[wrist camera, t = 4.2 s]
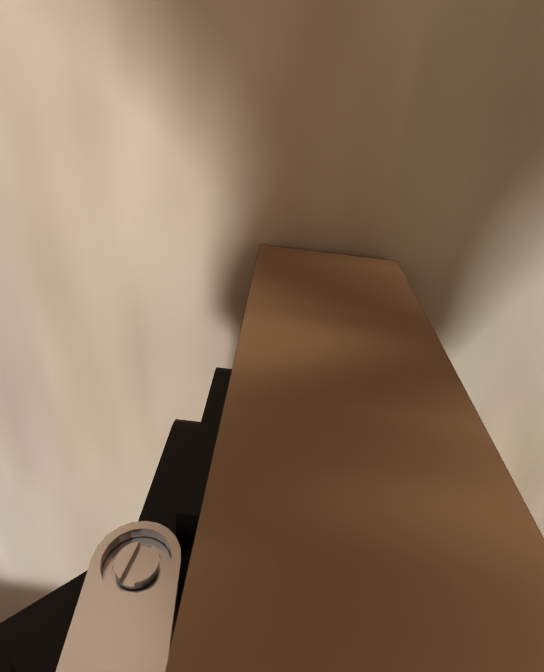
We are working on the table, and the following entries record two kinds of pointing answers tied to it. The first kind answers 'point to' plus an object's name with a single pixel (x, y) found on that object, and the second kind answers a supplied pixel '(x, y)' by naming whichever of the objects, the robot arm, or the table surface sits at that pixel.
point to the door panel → (355, 494)
